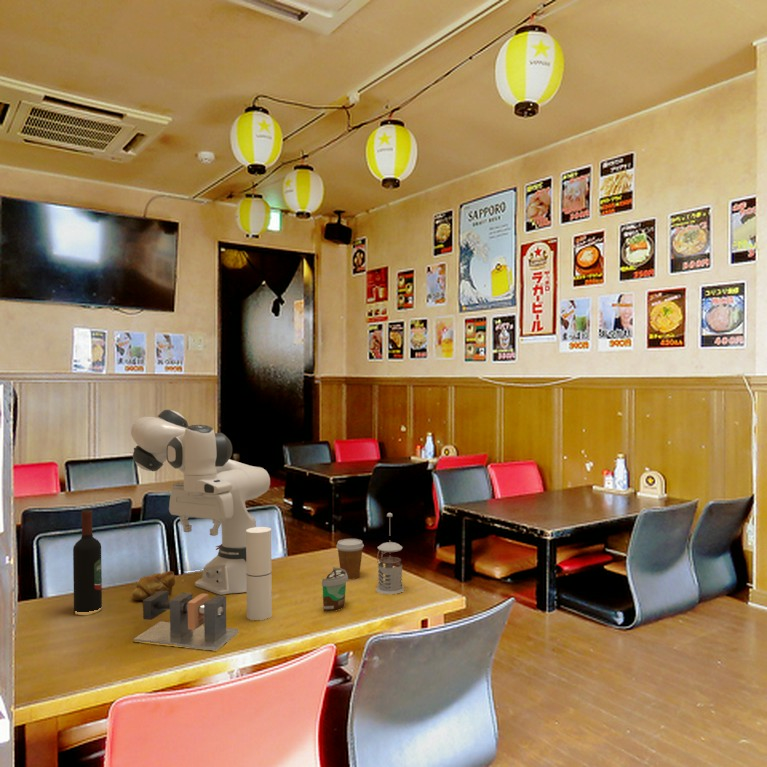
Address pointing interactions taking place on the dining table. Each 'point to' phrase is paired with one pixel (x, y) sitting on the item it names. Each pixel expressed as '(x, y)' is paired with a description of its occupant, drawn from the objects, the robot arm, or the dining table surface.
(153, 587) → the bread roll
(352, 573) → the disposable coffee cup
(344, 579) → the food container
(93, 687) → the dining table surface
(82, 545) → the wine bottle
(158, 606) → the shaft
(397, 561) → the french press
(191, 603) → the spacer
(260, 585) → the cylindrical container
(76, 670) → the dining table surface
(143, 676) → the dining table surface
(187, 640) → the shaft frame
